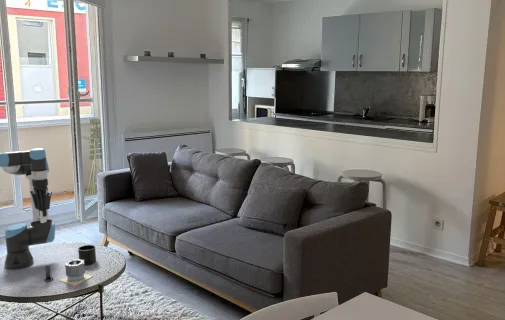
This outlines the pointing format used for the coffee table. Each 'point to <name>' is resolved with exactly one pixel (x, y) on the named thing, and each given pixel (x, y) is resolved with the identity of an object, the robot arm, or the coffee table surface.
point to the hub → (75, 279)
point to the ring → (74, 268)
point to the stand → (48, 274)
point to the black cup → (87, 254)
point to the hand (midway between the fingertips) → (43, 222)
